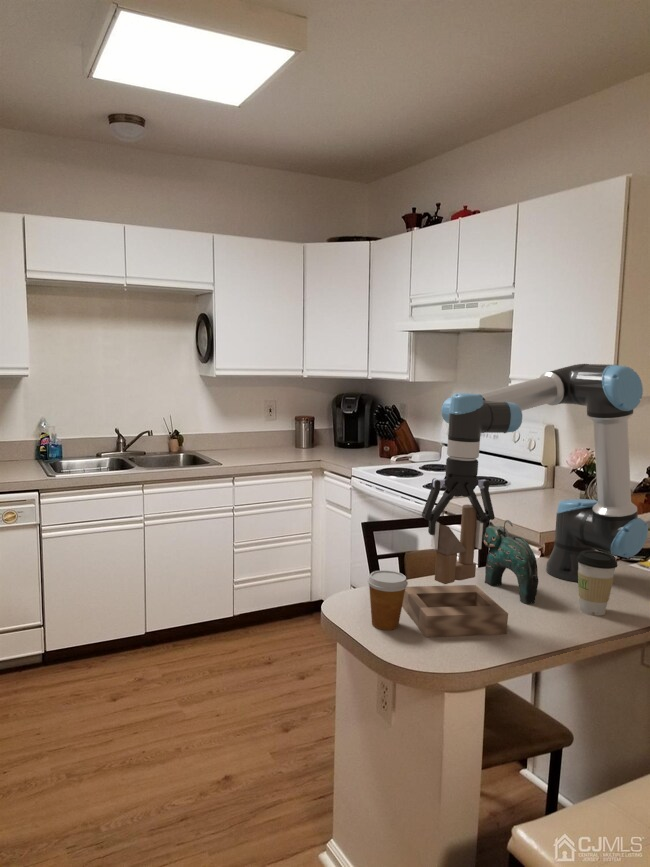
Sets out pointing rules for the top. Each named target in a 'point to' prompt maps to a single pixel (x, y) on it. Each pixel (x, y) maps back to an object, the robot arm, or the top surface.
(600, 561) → the coffee cup
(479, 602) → the walnut slotted base
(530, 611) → the top surface
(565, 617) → the top surface
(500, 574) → the teal animal figurine
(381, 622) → the disposable coffee cup
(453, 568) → the wooden post with wedge
